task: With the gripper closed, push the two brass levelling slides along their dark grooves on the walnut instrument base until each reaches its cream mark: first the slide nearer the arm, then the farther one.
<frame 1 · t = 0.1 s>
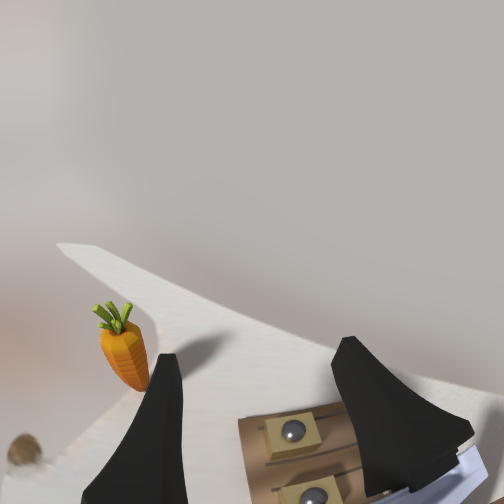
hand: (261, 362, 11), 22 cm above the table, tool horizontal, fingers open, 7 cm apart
carrot: (142, 390, 31), on the table
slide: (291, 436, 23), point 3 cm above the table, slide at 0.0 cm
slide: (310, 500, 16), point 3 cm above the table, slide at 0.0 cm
instrument base: (329, 467, 22), on the table
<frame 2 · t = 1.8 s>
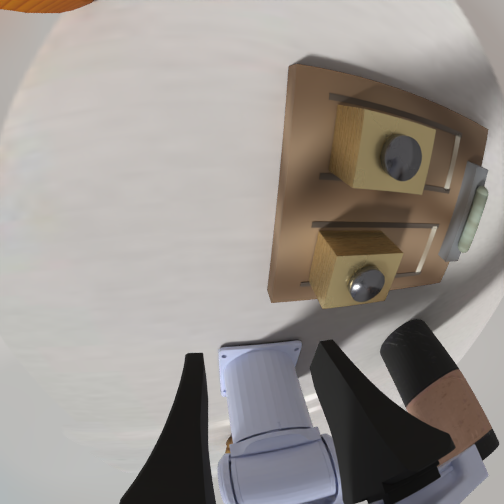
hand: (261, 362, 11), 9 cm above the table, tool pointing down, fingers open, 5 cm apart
carrot: (91, 0, 8), on the table
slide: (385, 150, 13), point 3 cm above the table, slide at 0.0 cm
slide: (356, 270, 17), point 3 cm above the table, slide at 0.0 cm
instrument base: (391, 197, 19), on the table
travel mug: (402, 337, 30), on the table
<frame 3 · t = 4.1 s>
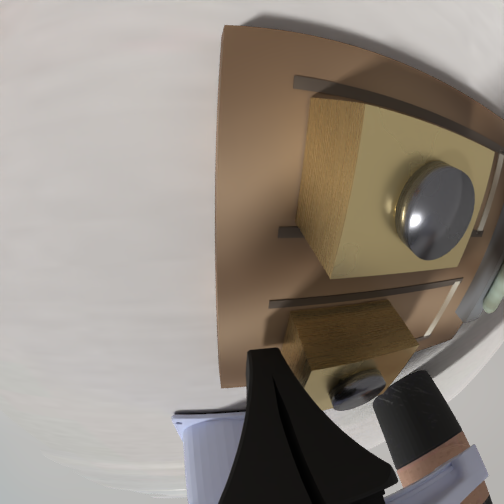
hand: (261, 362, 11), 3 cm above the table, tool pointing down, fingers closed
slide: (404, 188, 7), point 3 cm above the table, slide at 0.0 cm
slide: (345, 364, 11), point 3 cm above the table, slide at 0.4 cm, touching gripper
instrument base: (401, 245, 12), on the table
travel mug: (399, 388, 24), on the table
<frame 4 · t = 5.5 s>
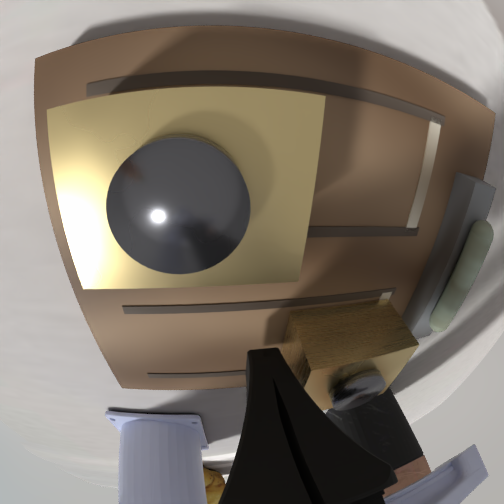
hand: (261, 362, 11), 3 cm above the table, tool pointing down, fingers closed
bread roll: (194, 469, 31), on the table
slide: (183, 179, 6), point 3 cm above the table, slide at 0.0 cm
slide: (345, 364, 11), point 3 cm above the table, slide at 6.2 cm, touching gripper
instrument base: (293, 248, 11), on the table
travel mug: (357, 402, 23), on the table
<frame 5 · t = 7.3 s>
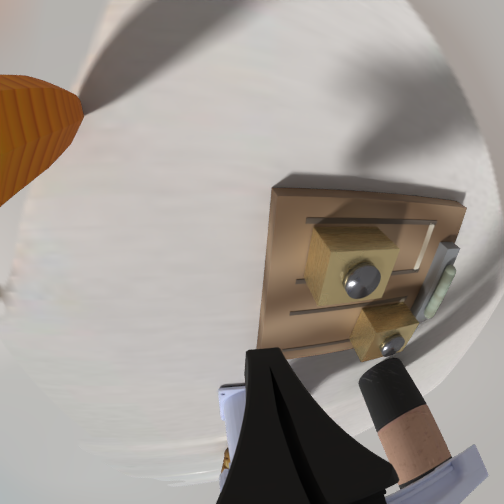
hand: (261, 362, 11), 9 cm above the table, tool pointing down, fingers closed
carrot: (79, 113, 12), on the table
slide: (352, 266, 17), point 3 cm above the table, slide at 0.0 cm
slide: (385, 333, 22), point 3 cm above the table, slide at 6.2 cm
instrument base: (363, 279, 23), on the table
travel mug: (379, 372, 34), on the table
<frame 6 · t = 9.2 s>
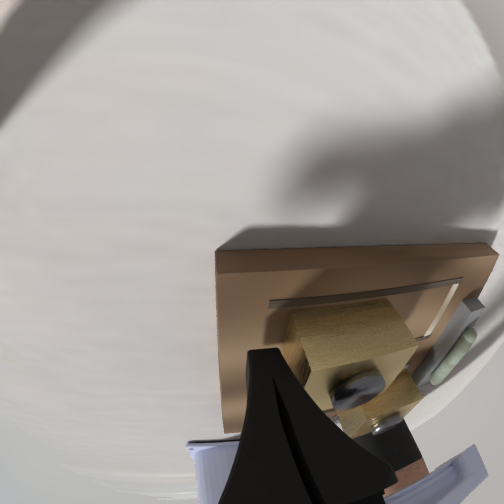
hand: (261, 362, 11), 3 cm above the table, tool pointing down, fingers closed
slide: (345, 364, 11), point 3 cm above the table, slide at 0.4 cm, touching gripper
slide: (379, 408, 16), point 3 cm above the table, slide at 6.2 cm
instrument base: (356, 348, 17), on the table
travel mug: (372, 418, 28), on the table
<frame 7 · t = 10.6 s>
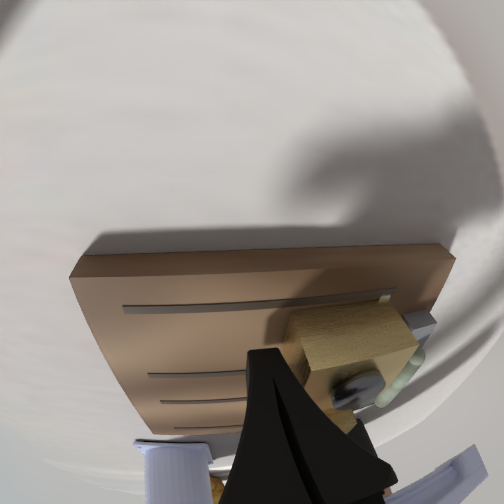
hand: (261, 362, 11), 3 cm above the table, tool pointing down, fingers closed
bread roll: (198, 476, 35), on the table
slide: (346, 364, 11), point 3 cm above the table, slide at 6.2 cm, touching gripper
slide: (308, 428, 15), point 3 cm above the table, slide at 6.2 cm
instrument base: (273, 362, 16), on the table
travel mug: (334, 430, 27), on the table
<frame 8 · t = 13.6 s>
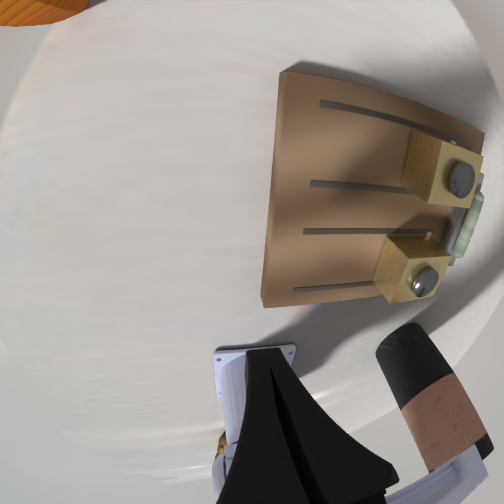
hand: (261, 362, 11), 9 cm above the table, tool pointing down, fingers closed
carrot: (83, 8, 8), on the table
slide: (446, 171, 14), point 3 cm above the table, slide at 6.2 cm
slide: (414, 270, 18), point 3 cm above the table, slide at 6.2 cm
instrument base: (384, 202, 19), on the table
travel mug: (398, 341, 30), on the table
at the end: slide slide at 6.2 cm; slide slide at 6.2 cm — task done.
